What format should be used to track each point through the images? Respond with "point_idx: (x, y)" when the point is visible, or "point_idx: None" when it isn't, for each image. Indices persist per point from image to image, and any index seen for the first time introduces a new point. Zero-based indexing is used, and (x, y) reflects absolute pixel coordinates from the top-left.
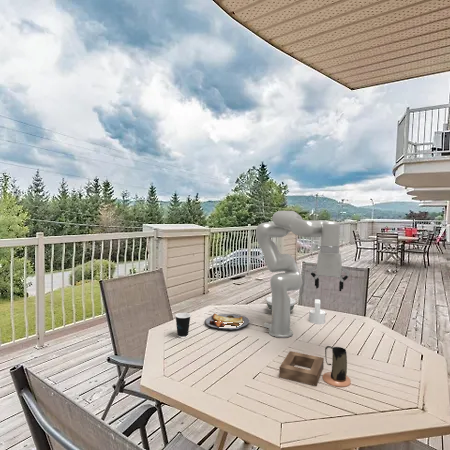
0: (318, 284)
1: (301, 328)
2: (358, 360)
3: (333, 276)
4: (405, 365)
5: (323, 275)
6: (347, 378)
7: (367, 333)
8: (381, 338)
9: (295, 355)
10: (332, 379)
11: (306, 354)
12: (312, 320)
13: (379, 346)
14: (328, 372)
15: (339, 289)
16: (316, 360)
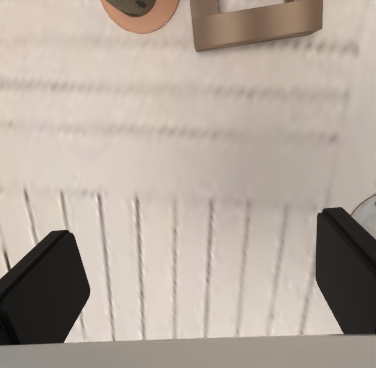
0: (332, 280)
1: None
2: (123, 162)
3: (3, 350)
4: (22, 199)
5: (294, 339)
6: (111, 8)
7: None
8: (112, 328)
9: (292, 2)
10: None
11: (256, 37)
12: None
13: (103, 278)
14: (170, 12)
15: (61, 238)
16: (211, 6)
